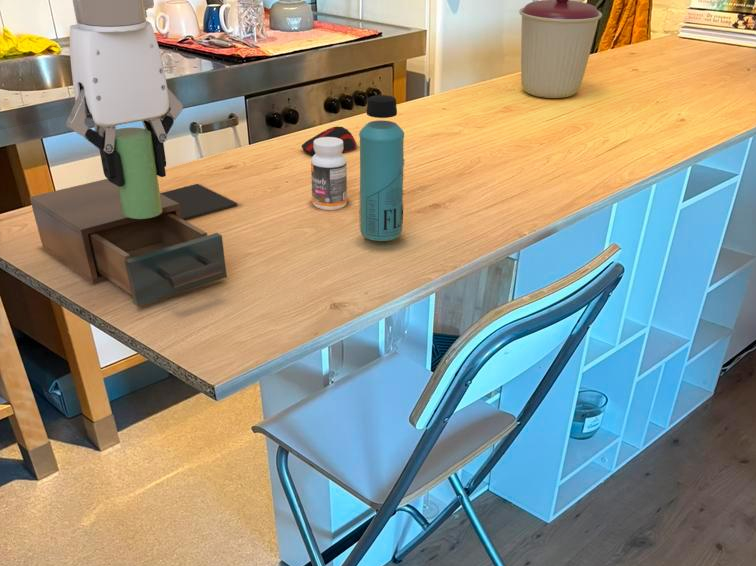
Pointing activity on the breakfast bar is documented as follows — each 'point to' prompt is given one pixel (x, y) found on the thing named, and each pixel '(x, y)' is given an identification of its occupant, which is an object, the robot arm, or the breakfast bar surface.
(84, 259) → the cabinet
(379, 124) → the beverage bottle
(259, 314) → the breakfast bar surface
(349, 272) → the breakfast bar surface
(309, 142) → the computer mouse
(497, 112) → the breakfast bar surface
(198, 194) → the mat
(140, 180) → the green can
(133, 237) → the drawer
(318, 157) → the pill bottle
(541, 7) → the canister
